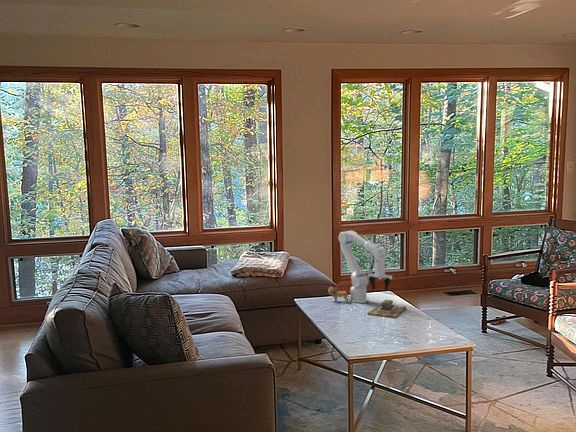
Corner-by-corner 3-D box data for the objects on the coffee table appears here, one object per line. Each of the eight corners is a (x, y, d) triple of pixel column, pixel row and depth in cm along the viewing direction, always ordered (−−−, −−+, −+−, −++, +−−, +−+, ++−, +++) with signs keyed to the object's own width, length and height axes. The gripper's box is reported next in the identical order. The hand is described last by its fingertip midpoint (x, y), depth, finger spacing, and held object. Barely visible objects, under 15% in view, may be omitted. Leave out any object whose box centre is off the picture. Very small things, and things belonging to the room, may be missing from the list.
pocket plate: (367, 314, 320) (367, 310, 320) (380, 305, 338) (380, 301, 337) (395, 318, 312) (395, 313, 312) (406, 308, 330) (406, 304, 330)
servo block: (381, 311, 322) (381, 302, 321) (386, 307, 330) (386, 298, 329) (387, 312, 320) (387, 302, 319) (393, 308, 328) (393, 298, 327)
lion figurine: (327, 302, 348) (327, 287, 347) (329, 299, 353) (329, 285, 352) (351, 303, 344) (351, 289, 342) (352, 301, 349) (352, 286, 347)
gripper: (365, 267, 335) (365, 290, 336) (389, 269, 328) (389, 292, 329) (370, 265, 341) (370, 287, 343) (393, 267, 334) (393, 290, 336)
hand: (379, 290), depth 336 cm, fingers open, 7 cm apart
